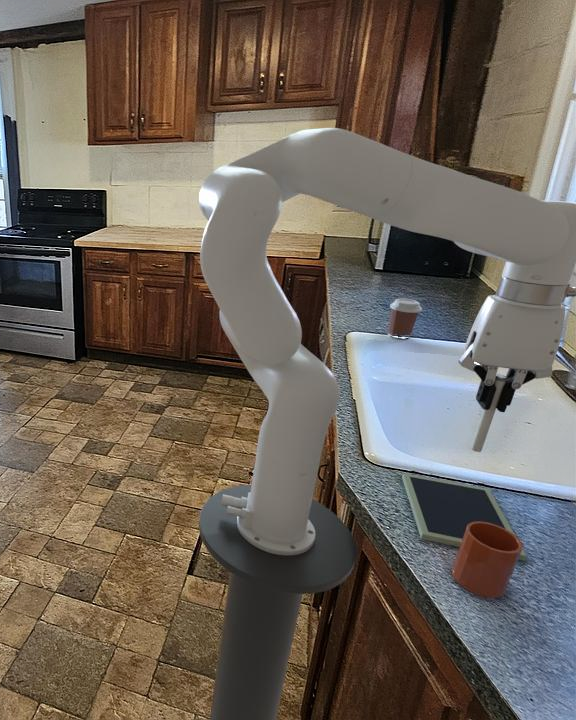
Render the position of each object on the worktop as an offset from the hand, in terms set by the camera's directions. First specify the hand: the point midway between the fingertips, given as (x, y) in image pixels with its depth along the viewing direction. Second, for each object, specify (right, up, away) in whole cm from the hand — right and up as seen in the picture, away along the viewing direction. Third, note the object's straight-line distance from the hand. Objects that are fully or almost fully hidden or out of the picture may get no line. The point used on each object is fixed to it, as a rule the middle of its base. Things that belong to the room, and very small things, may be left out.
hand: (490, 406), depth 82 cm
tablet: (0, -19, +8) cm, 21 cm away
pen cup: (-6, -25, -5) cm, 26 cm away
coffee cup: (+39, +15, +93) cm, 102 cm away
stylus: (0, -7, +3) cm, 8 cm away
